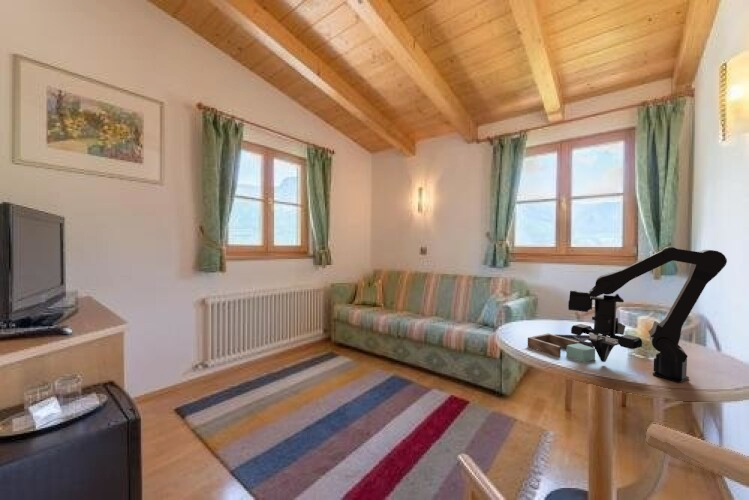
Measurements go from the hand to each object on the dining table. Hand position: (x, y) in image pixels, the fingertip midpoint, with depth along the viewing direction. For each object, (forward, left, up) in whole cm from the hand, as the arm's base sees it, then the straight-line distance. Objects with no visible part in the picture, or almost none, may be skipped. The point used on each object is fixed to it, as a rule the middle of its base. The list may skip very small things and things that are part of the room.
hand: (603, 361), depth 108 cm
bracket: (+17, -18, -2) cm, 25 cm away
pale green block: (+7, 0, -1) cm, 7 cm away
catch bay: (+17, 0, -1) cm, 17 cm away
